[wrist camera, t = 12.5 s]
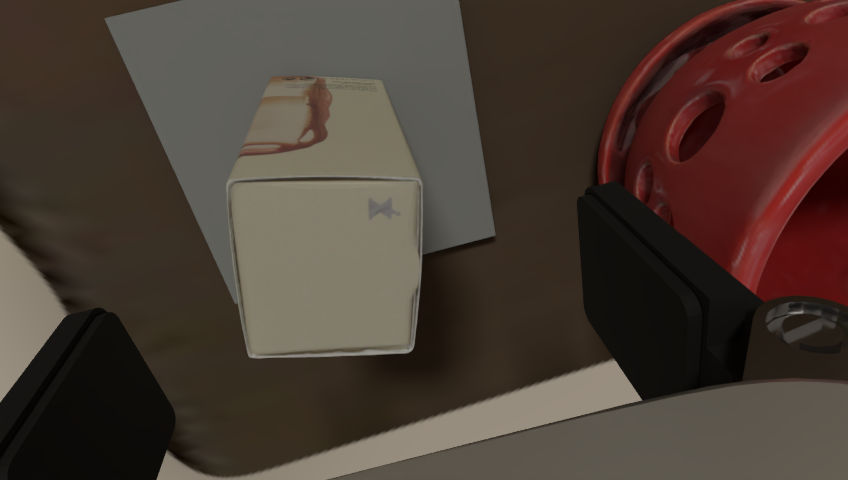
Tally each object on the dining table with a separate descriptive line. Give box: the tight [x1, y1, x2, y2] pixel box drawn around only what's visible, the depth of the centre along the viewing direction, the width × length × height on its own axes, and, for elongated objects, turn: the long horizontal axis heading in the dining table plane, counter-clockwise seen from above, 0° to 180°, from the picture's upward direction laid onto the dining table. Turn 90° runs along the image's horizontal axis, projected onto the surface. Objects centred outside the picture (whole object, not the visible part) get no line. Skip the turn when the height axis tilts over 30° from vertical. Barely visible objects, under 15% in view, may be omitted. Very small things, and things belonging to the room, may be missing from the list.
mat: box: [105, 0, 496, 304], centre depth 22 cm, size 12×12×1 cm
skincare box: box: [226, 76, 423, 358], centre depth 17 cm, size 5×4×10 cm
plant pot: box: [598, 0, 848, 306], centre depth 19 cm, size 13×13×12 cm
